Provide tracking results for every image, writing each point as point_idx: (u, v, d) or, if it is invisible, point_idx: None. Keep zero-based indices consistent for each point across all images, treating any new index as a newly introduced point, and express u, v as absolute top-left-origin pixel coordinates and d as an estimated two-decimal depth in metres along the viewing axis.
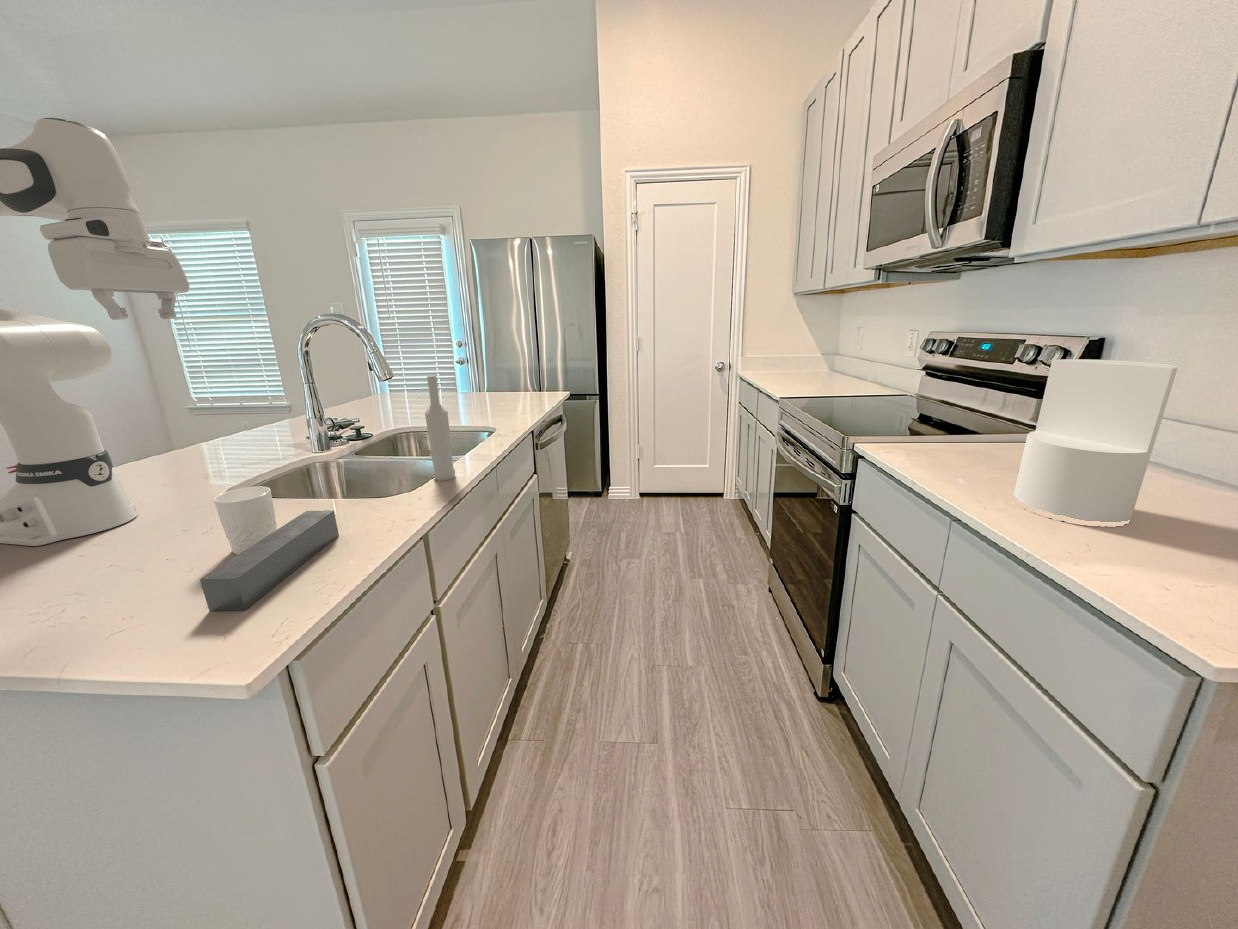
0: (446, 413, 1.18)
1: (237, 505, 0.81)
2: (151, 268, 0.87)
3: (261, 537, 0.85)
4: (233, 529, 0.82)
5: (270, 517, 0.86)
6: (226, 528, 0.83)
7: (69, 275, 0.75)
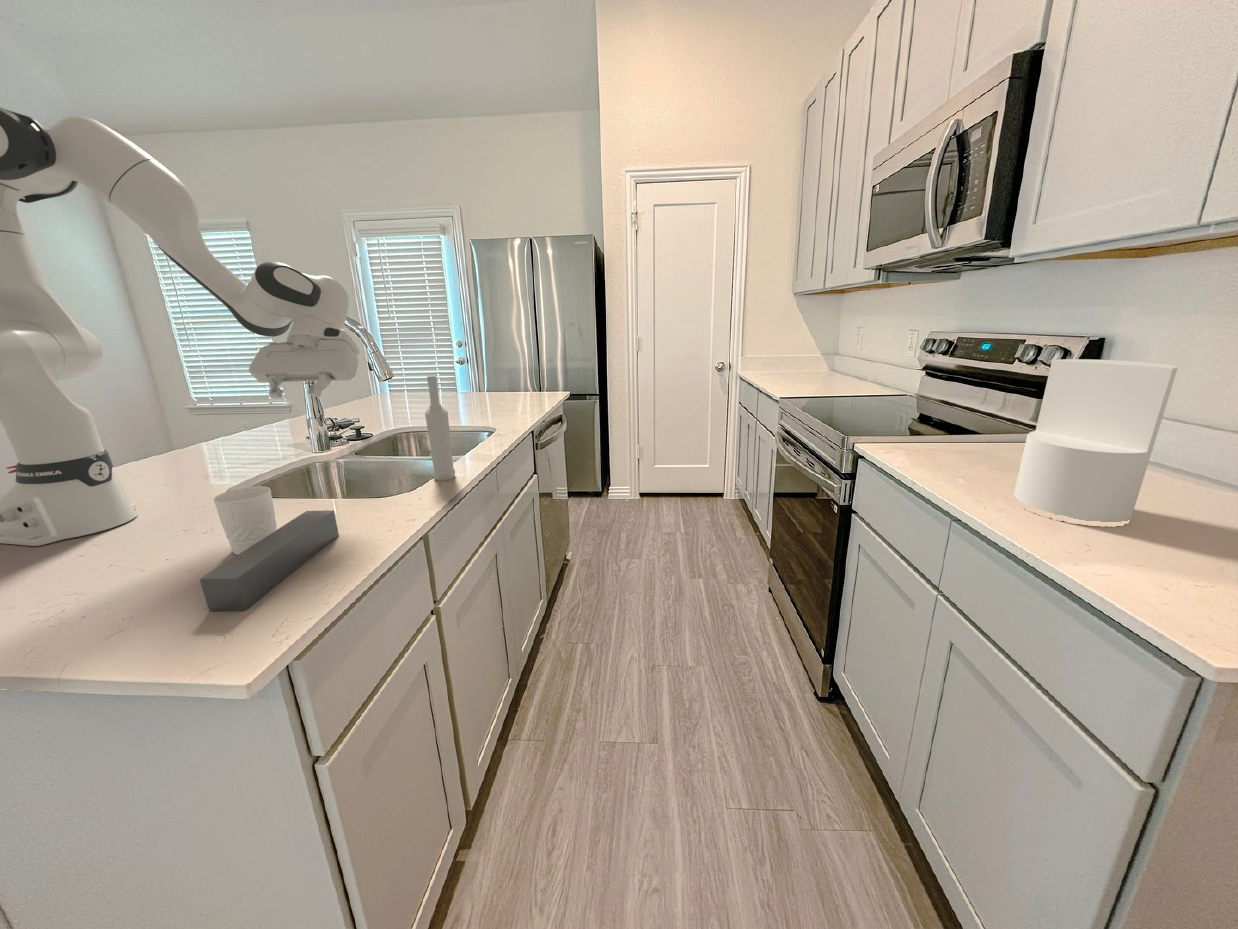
0: (446, 413, 1.18)
1: (237, 505, 0.81)
2: None
3: (261, 537, 0.85)
4: (233, 529, 0.82)
5: (270, 517, 0.86)
6: (226, 528, 0.83)
7: (352, 368, 1.01)
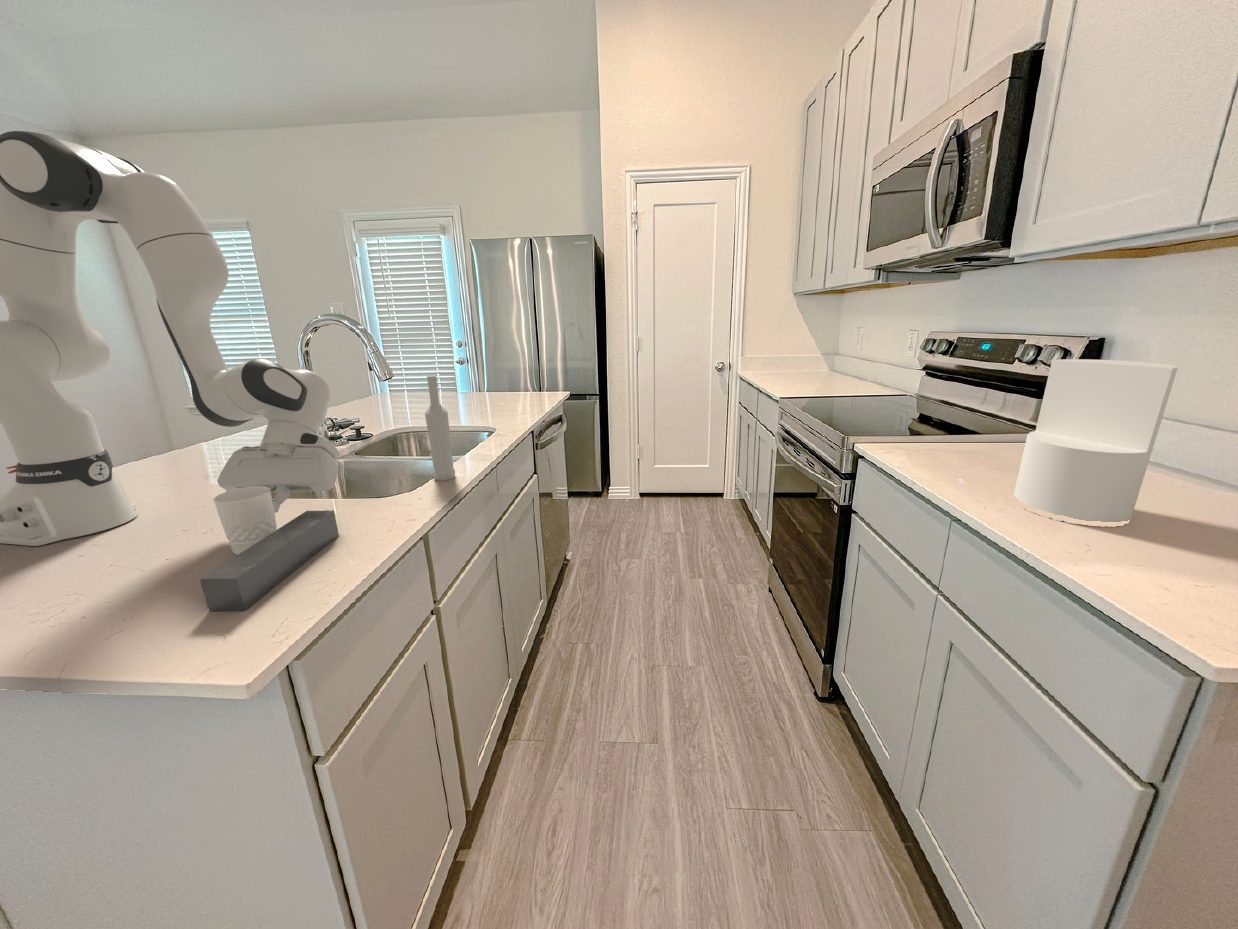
0: (446, 413, 1.18)
1: (237, 505, 0.81)
2: None
3: (261, 537, 0.85)
4: (233, 529, 0.82)
5: (270, 517, 0.86)
6: (226, 528, 0.83)
7: (331, 478, 0.93)
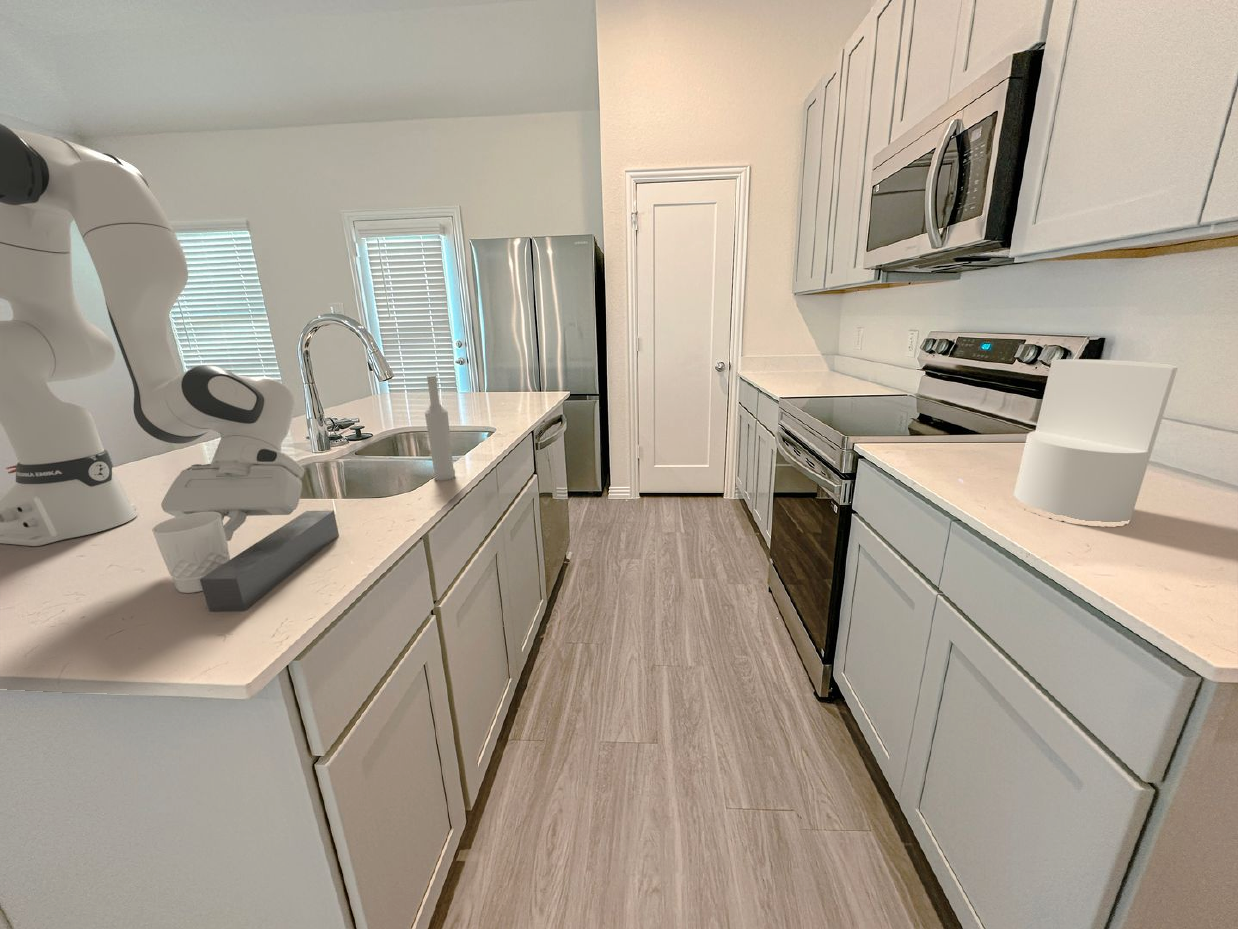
0: (446, 413, 1.18)
1: (181, 536, 0.70)
2: None
3: None
4: (177, 563, 0.71)
5: (222, 547, 0.75)
6: (169, 563, 0.71)
7: (292, 501, 0.82)
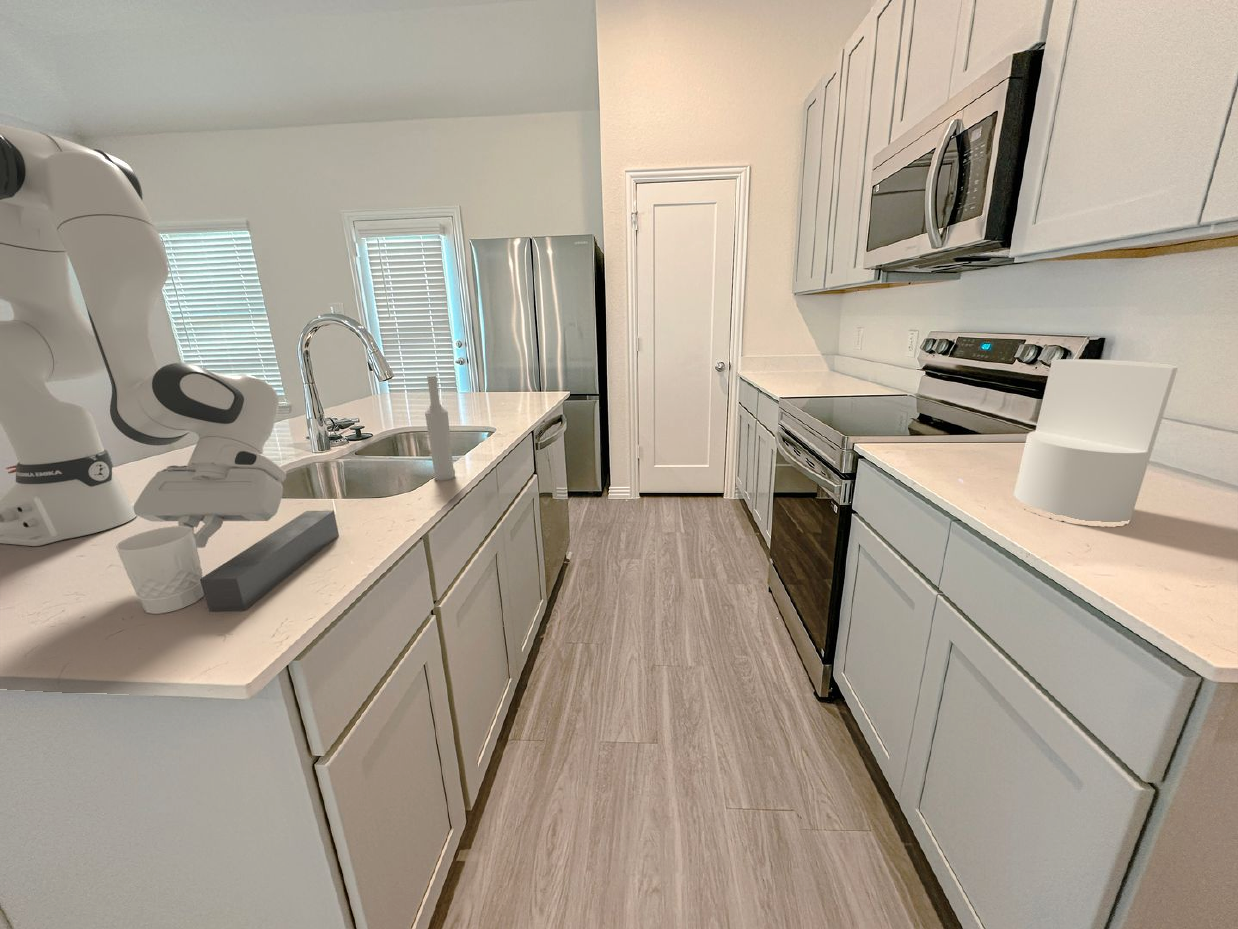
0: (446, 413, 1.18)
1: (148, 553, 0.65)
2: None
3: (182, 590, 0.69)
4: (143, 582, 0.66)
5: (193, 564, 0.70)
6: (134, 582, 0.66)
7: (271, 506, 0.78)
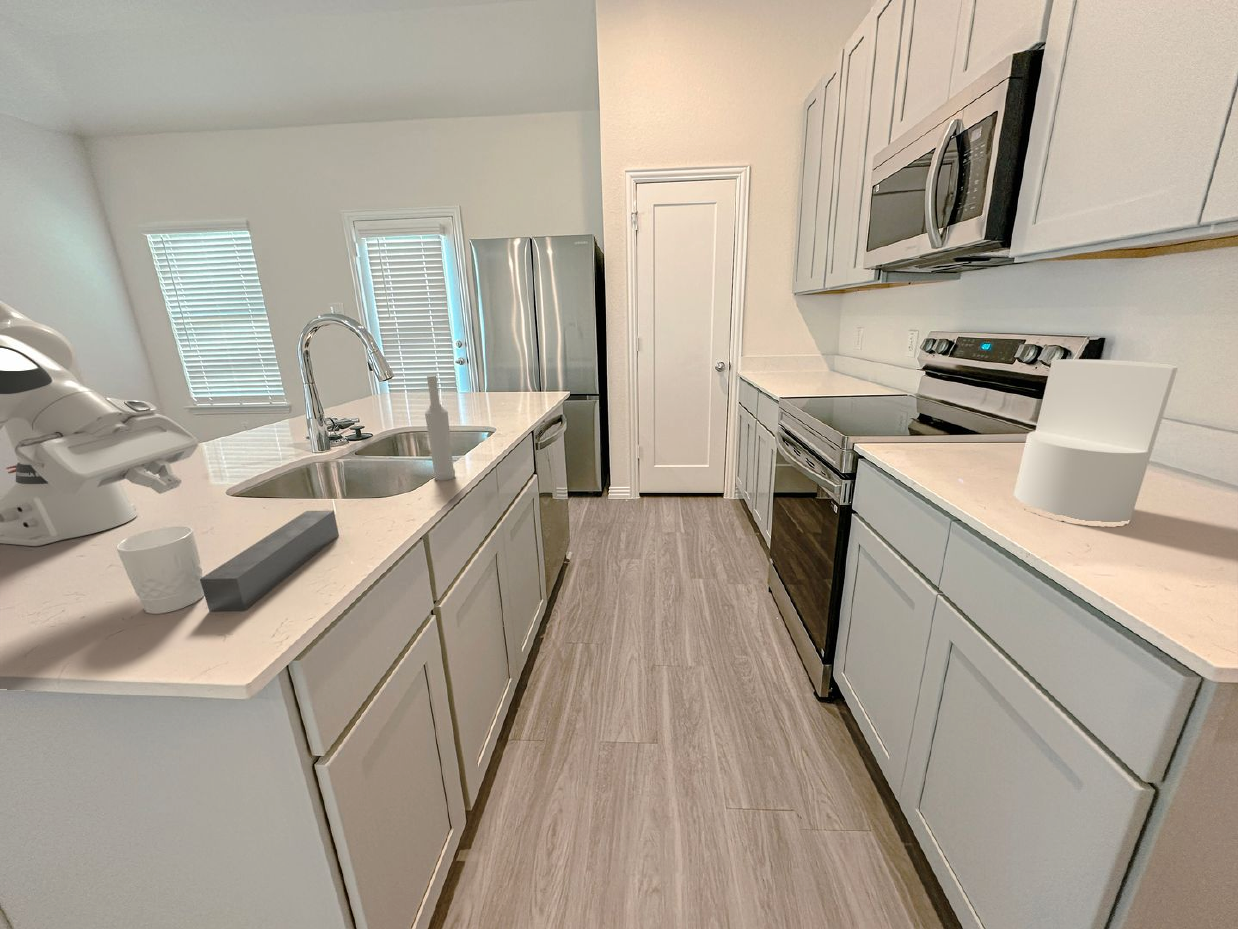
0: (446, 413, 1.18)
1: (148, 553, 0.65)
2: None
3: (182, 590, 0.69)
4: (143, 582, 0.66)
5: (193, 564, 0.70)
6: (134, 582, 0.66)
7: None
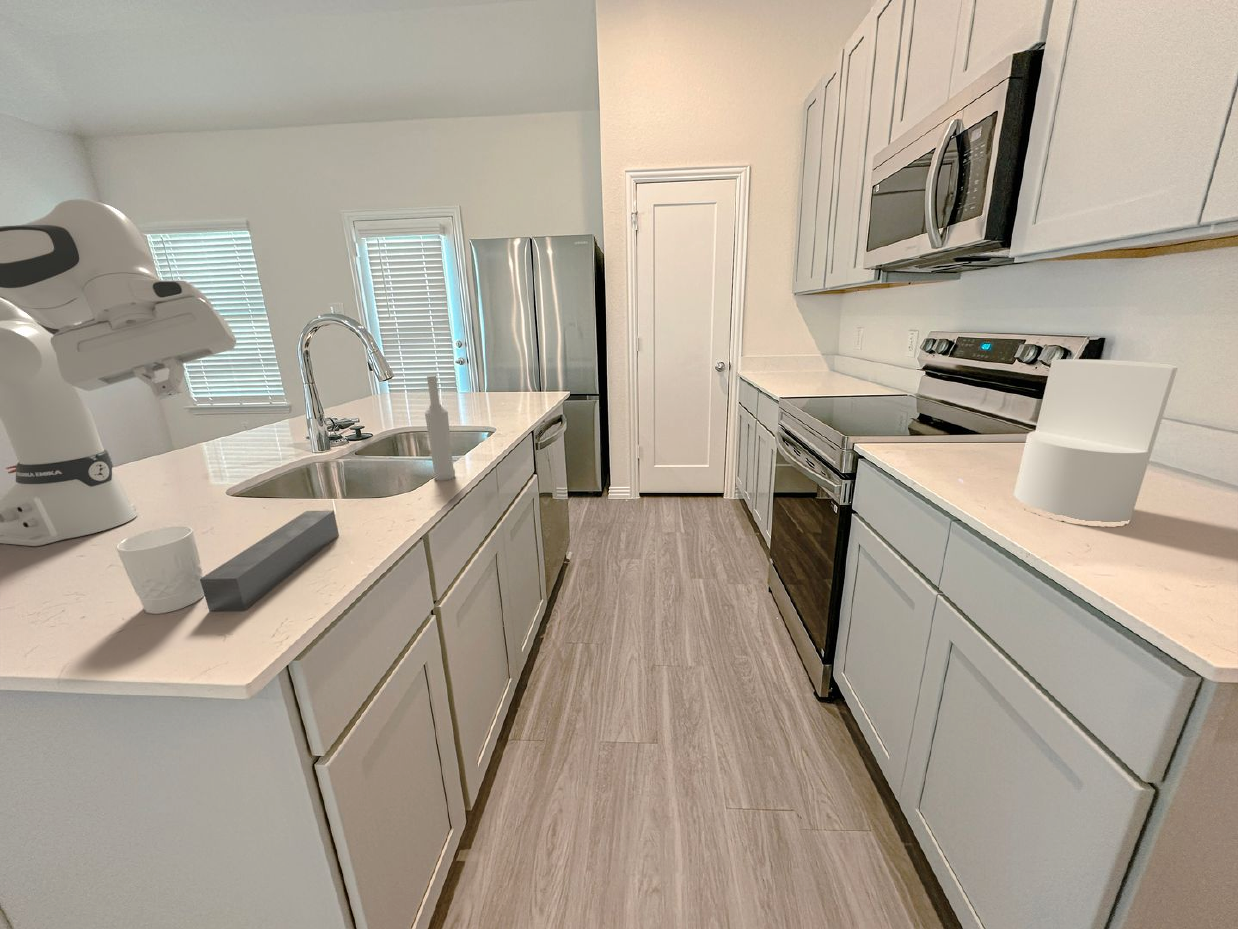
0: (446, 413, 1.18)
1: (148, 553, 0.65)
2: None
3: (182, 590, 0.69)
4: (143, 582, 0.66)
5: (193, 564, 0.70)
6: (134, 582, 0.66)
7: (230, 332, 0.74)
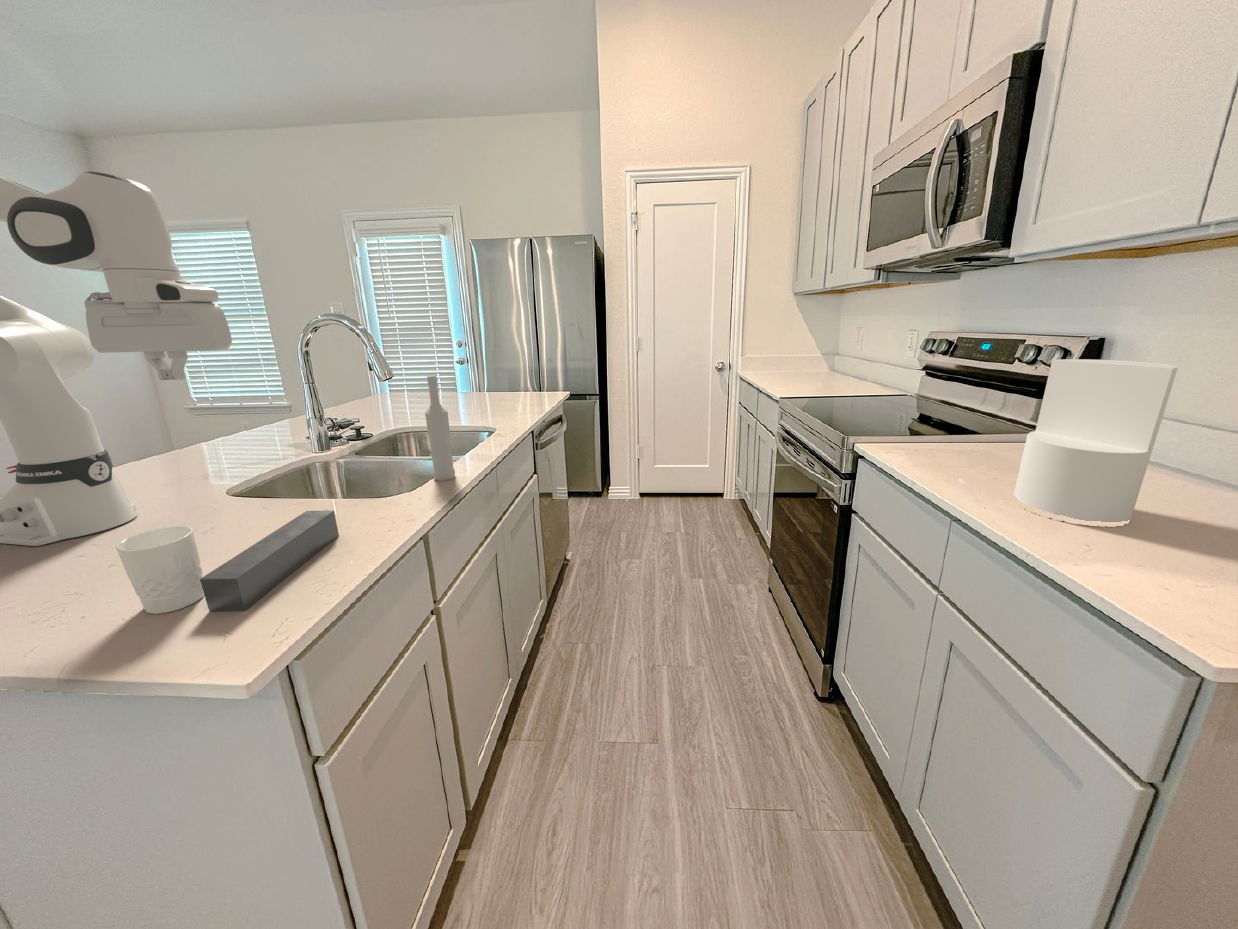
0: (446, 413, 1.18)
1: (147, 553, 0.65)
2: None
3: (182, 590, 0.69)
4: (143, 582, 0.66)
5: (193, 564, 0.70)
6: (134, 582, 0.66)
7: (224, 337, 0.80)
